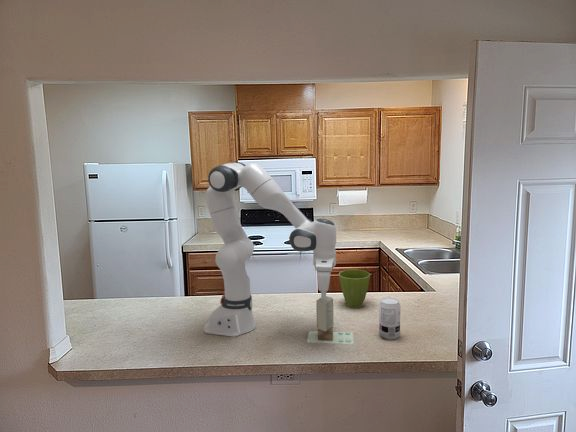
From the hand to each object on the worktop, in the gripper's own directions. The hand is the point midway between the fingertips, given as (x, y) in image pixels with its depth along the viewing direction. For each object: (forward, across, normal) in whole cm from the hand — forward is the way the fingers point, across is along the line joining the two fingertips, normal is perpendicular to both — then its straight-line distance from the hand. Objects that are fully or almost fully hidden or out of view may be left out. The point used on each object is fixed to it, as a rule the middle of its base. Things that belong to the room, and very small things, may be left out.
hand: (324, 294), depth 160 cm
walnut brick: (+18, 0, +1) cm, 18 cm away
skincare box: (+14, 0, +1) cm, 14 cm away
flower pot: (+20, -38, +14) cm, 45 cm away
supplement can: (+19, -6, +27) cm, 34 cm away
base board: (+20, 0, +3) cm, 20 cm away
